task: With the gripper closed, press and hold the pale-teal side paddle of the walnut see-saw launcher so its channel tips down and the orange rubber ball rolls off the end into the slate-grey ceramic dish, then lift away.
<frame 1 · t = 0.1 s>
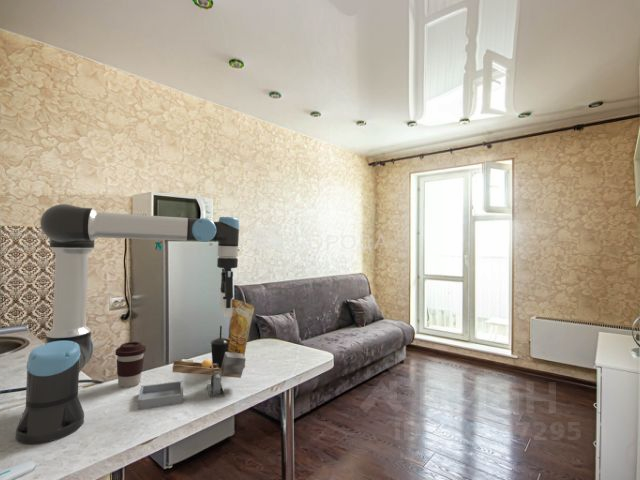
hand: (225, 312, 126), 28 cm above the table, fingers open, 13 cm apart
ball: (206, 364, 120), point 10 cm above the table, tilted 17°, touching lever
stand: (215, 390, 122), on the table
drinking cup: (218, 374, 137), on the table
dish: (161, 398, 115), on the table
coffee cup: (129, 384, 125), on the table
pancake mix bag: (236, 363, 149), on the table
lever: (209, 359, 124), point 11 cm above the table, hinge at 12.0°, touching ball
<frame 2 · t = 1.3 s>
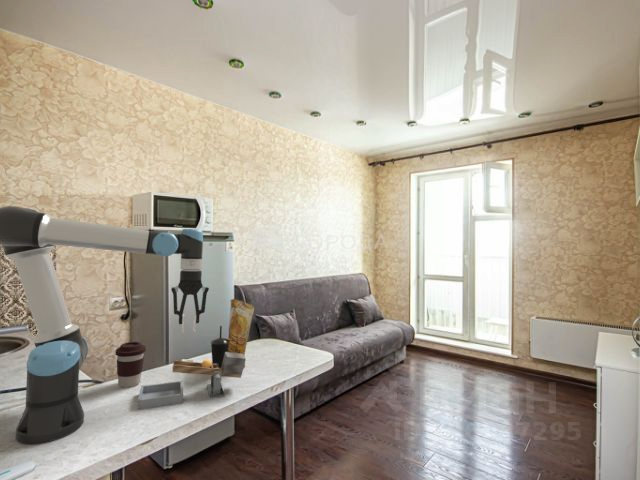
hand: (188, 332, 124), 21 cm above the table, fingers open, 3 cm apart
nothing on the table moved.
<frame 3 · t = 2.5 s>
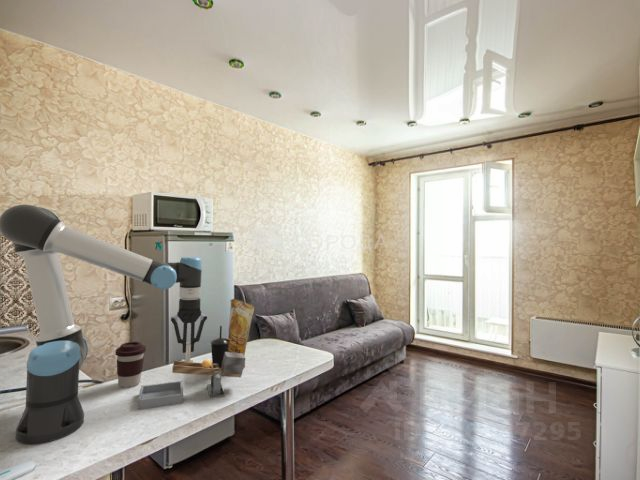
hand: (187, 360, 124), 10 cm above the table, fingers closed
lever: (209, 360, 124), point 11 cm above the table, hinge at 11.0°, touching ball, gripper
everything else where it was.
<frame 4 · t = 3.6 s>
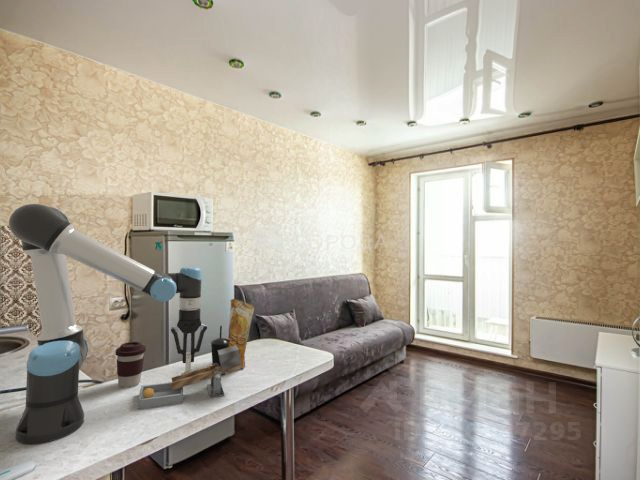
hand: (187, 371, 124), 6 cm above the table, fingers closed
ball: (148, 393, 113), point 2 cm above the table, tilted 72°, touching dish
lever: (205, 363, 123), point 9 cm above the table, hinge at -11.9°, touching gripper
everything else where it was.
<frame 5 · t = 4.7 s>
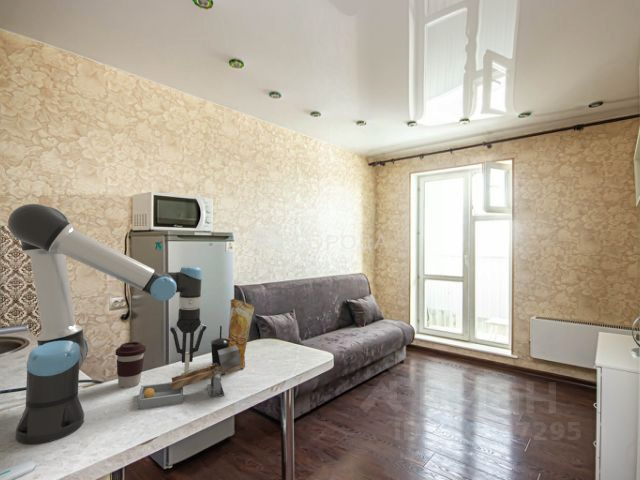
hand: (186, 370, 124), 6 cm above the table, fingers closed
ball: (149, 393, 113), point 2 cm above the table, tilted 78°, touching dish
lever: (205, 363, 123), point 9 cm above the table, hinge at -11.9°
everything else where it was.
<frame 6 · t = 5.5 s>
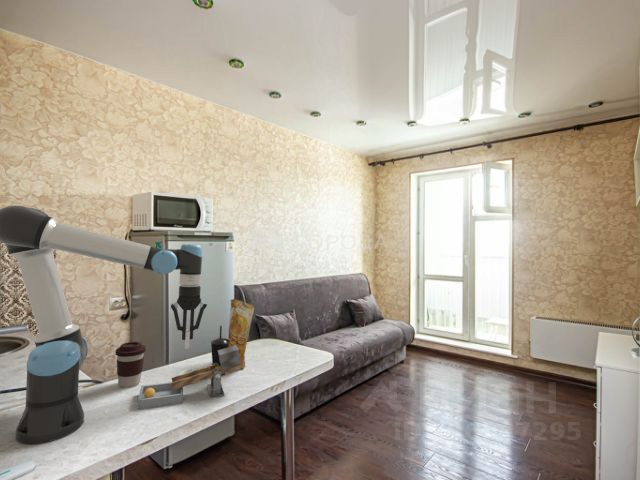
hand: (186, 348, 124), 15 cm above the table, fingers closed
nothing on the table moved.
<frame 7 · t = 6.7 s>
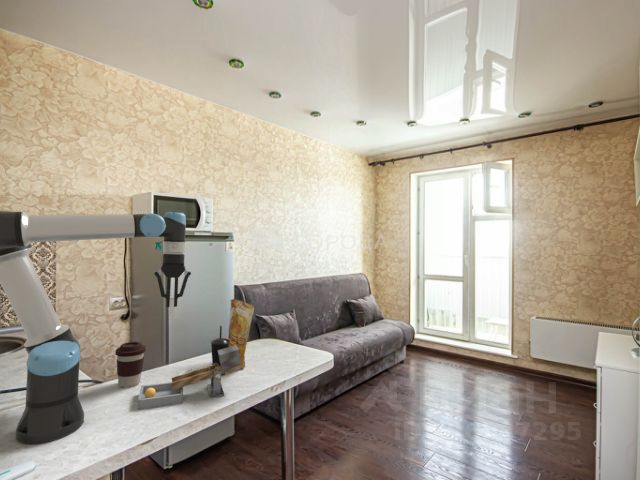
hand: (171, 315, 125), 26 cm above the table, fingers closed
ball: (150, 393, 113), point 2 cm above the table, tilted 88°, touching dish
everything else where it was.
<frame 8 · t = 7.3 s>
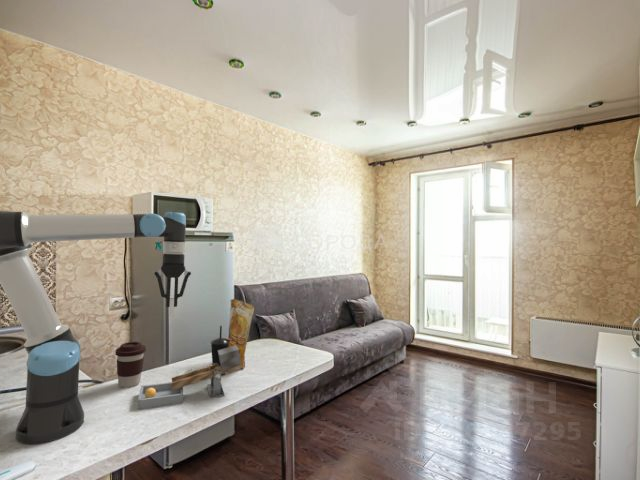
hand: (171, 315, 125), 26 cm above the table, fingers closed
nothing on the table moved.
at the end: ball inside the target area on the dish (3.5 cm from its centre), point 2.2 cm above the dish's base; ball touching dish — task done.
